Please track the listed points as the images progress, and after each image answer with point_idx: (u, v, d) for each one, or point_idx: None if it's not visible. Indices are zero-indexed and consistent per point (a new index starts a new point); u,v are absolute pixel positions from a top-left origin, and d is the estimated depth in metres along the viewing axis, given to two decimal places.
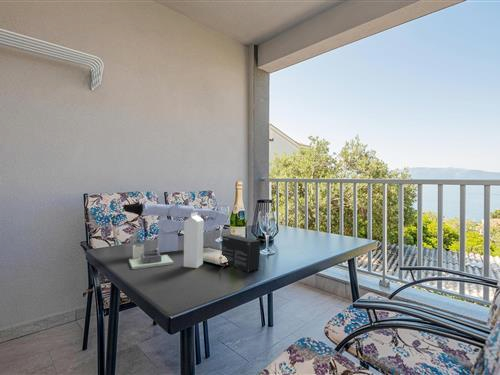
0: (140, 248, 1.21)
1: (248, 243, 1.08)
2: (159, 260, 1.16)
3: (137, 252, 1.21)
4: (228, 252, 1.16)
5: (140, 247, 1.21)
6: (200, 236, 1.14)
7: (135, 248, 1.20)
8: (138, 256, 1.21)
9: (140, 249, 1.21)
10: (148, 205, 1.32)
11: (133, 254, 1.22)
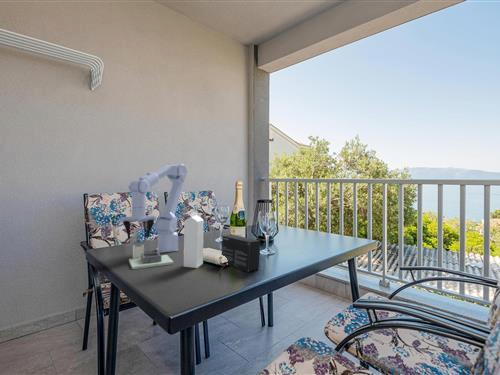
0: (140, 248, 1.21)
1: (248, 243, 1.08)
2: (159, 260, 1.16)
3: (137, 252, 1.21)
4: (228, 251, 1.16)
5: (140, 247, 1.21)
6: (200, 236, 1.14)
7: (135, 248, 1.20)
8: (138, 256, 1.21)
9: (140, 249, 1.21)
10: (144, 214, 1.22)
11: (133, 254, 1.22)
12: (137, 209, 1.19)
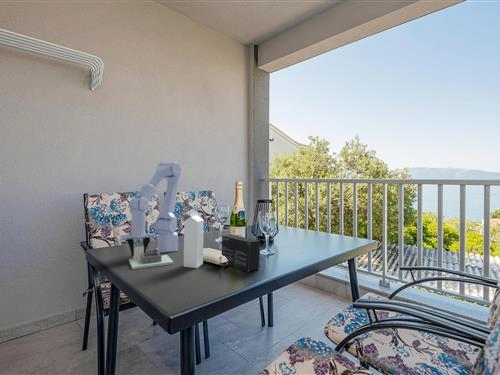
0: (140, 248, 1.21)
1: (248, 243, 1.08)
2: (159, 260, 1.16)
3: (137, 252, 1.21)
4: (228, 252, 1.16)
5: (140, 247, 1.21)
6: (200, 236, 1.14)
7: (135, 248, 1.20)
8: (138, 256, 1.21)
9: (140, 249, 1.21)
10: (143, 232, 1.22)
11: None
12: (137, 227, 1.20)
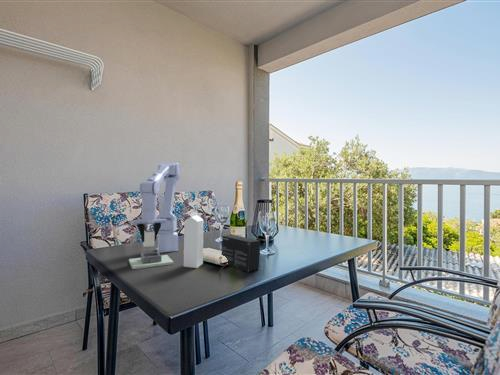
0: (151, 234, 1.17)
1: (248, 243, 1.08)
2: (159, 260, 1.16)
3: (148, 238, 1.16)
4: (228, 252, 1.16)
5: (151, 232, 1.17)
6: (200, 236, 1.14)
7: (146, 234, 1.16)
8: (149, 242, 1.17)
9: (151, 235, 1.17)
10: (154, 217, 1.17)
11: None
12: (147, 211, 1.15)
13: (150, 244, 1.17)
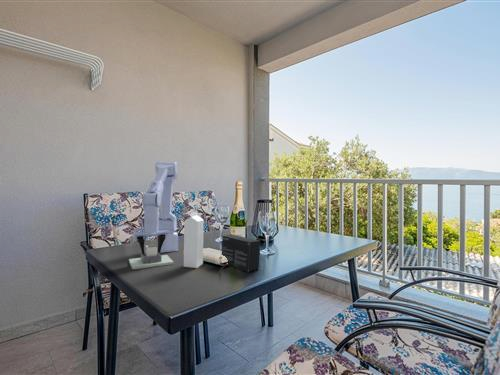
0: (153, 249, 1.16)
1: (248, 243, 1.08)
2: (159, 260, 1.16)
3: (150, 253, 1.16)
4: (228, 251, 1.16)
5: (153, 247, 1.16)
6: (200, 236, 1.14)
7: (148, 249, 1.15)
8: None
9: (153, 250, 1.16)
10: (157, 229, 1.17)
11: (146, 255, 1.16)
12: (150, 224, 1.15)
13: None
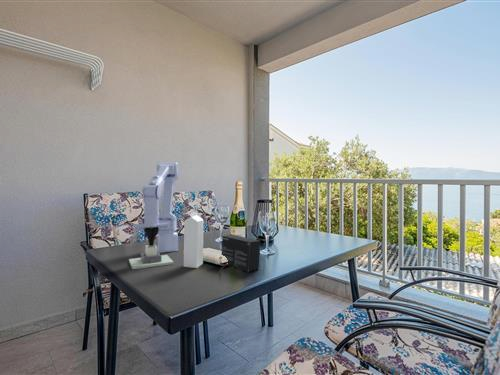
0: (153, 249, 1.16)
1: (248, 243, 1.08)
2: (159, 260, 1.16)
3: (150, 253, 1.16)
4: (228, 252, 1.16)
5: (153, 247, 1.16)
6: (200, 236, 1.14)
7: (148, 249, 1.15)
8: None
9: (153, 250, 1.16)
10: (157, 221, 1.16)
11: (146, 255, 1.16)
12: (150, 216, 1.14)
13: None
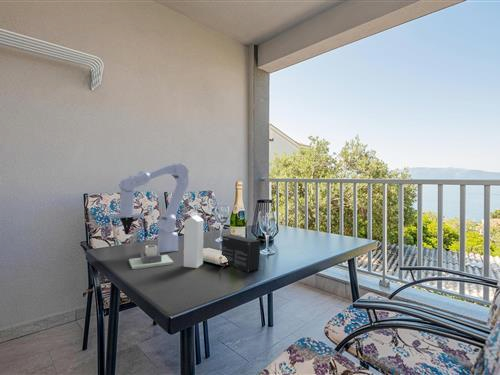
0: (153, 249, 1.16)
1: (248, 243, 1.08)
2: (159, 260, 1.16)
3: (150, 253, 1.16)
4: (228, 251, 1.16)
5: (153, 247, 1.16)
6: (200, 236, 1.14)
7: (148, 249, 1.15)
8: None
9: (153, 250, 1.16)
10: (132, 212, 1.26)
11: (146, 255, 1.16)
12: (125, 206, 1.24)
13: None
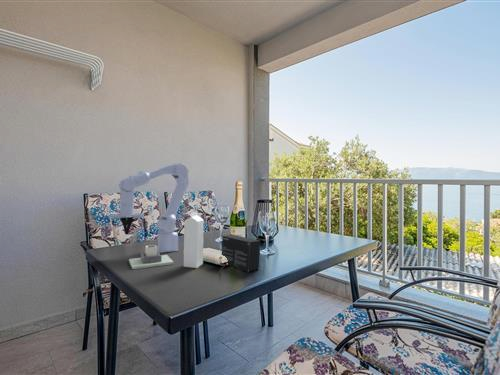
0: (153, 249, 1.16)
1: (248, 243, 1.08)
2: (159, 260, 1.16)
3: (150, 253, 1.16)
4: (228, 252, 1.16)
5: (153, 247, 1.16)
6: (200, 236, 1.14)
7: (148, 249, 1.15)
8: None
9: (153, 250, 1.16)
10: (132, 212, 1.26)
11: (146, 255, 1.16)
12: (125, 206, 1.24)
13: None
